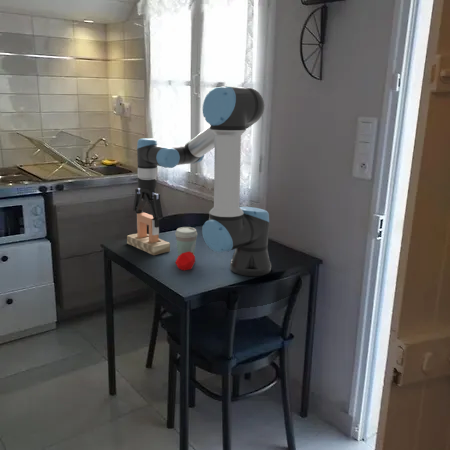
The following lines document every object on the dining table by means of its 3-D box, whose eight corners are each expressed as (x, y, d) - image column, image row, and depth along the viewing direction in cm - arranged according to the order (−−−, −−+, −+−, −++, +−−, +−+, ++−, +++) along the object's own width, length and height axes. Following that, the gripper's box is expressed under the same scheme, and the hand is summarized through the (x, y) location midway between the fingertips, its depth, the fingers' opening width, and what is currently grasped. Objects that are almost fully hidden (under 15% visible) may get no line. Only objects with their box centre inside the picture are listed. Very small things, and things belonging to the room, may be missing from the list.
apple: (180, 259, 171) (195, 247, 175) (169, 257, 176) (184, 246, 181) (187, 275, 174) (202, 263, 178) (176, 273, 179) (191, 261, 183)
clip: (158, 241, 196) (158, 217, 193) (151, 242, 194) (151, 218, 191) (144, 235, 203) (144, 212, 200) (137, 236, 201) (137, 213, 198)
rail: (170, 251, 195) (170, 243, 194) (153, 255, 190) (153, 246, 189) (143, 239, 208) (142, 232, 207) (127, 243, 203) (127, 235, 202)
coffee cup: (193, 264, 182) (194, 233, 179) (172, 262, 183) (172, 231, 180) (199, 256, 190) (200, 227, 187) (178, 254, 192) (178, 225, 188)
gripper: (172, 181, 186) (172, 236, 192) (139, 172, 202) (139, 223, 208) (156, 183, 181) (156, 240, 187) (123, 174, 196) (124, 226, 203)
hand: (147, 231), depth 197 cm, fingers closed on clip, 10 cm apart
